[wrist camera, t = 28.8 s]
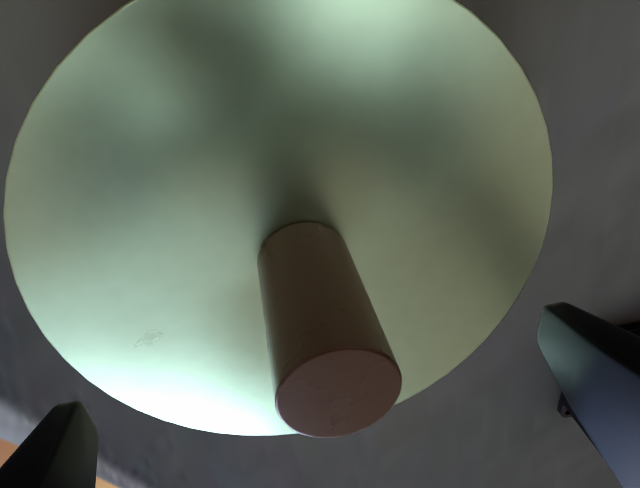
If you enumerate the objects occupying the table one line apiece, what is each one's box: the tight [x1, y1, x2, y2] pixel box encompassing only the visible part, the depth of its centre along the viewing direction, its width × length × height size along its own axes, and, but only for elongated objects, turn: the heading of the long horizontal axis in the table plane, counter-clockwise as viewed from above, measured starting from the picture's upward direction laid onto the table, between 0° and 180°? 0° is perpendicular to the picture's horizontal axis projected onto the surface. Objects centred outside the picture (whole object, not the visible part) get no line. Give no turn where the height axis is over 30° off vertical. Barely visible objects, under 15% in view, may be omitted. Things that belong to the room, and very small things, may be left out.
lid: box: [3, 0, 553, 438], centre depth 11 cm, size 14×14×6 cm
